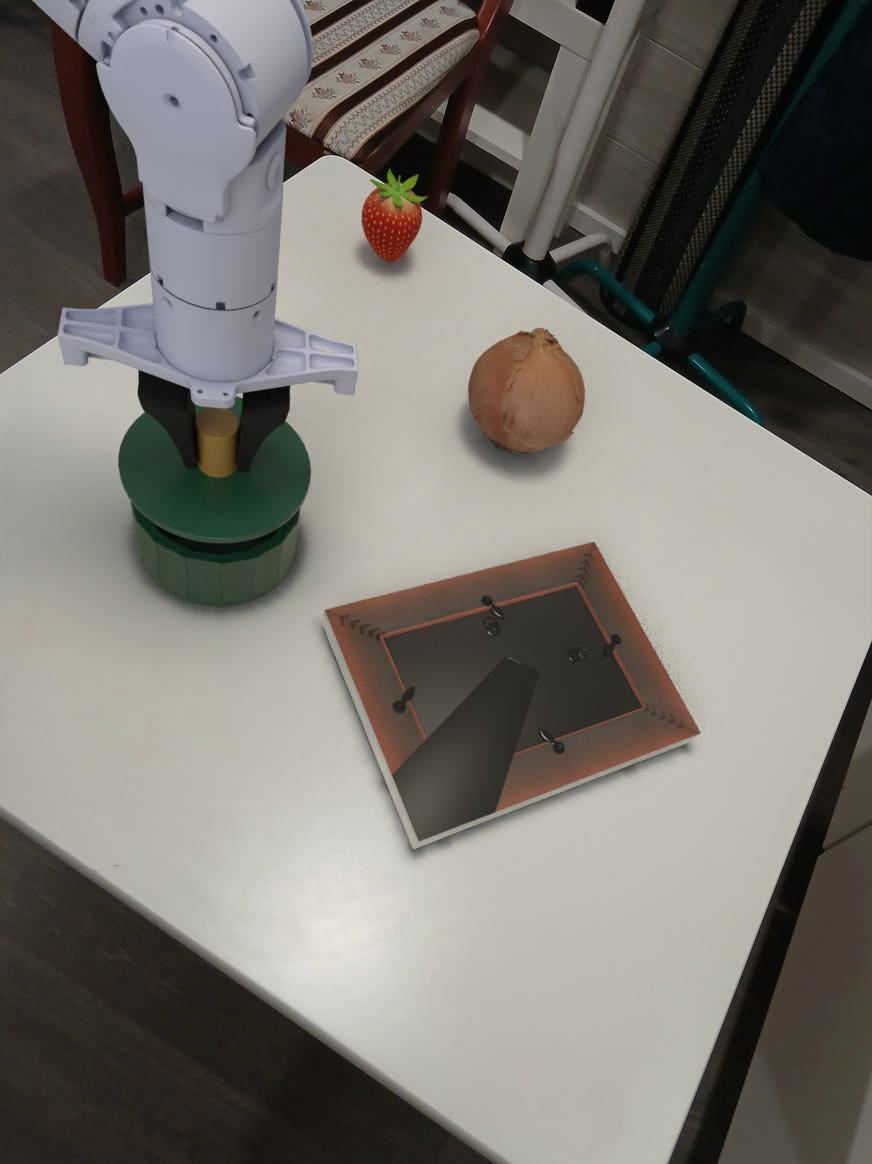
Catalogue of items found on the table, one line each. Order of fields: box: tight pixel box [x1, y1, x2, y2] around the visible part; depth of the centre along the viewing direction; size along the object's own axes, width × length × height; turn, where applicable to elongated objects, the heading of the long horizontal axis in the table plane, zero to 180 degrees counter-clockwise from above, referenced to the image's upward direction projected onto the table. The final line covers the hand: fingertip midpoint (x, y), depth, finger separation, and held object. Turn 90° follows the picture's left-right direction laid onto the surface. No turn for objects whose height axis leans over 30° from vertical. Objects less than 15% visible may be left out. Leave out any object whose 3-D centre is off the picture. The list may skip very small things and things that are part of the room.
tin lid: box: [117, 395, 312, 543], centre depth 50 cm, size 11×11×5 cm
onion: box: [467, 327, 586, 456], centre depth 67 cm, size 10×9×10 cm
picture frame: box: [321, 541, 701, 850], centre depth 58 cm, size 16×2×22 cm
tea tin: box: [129, 500, 302, 608], centre depth 56 cm, size 10×10×5 cm
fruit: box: [361, 168, 429, 263], centre depth 73 cm, size 5×5×8 cm
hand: (217, 456), depth 51 cm, fingers closed on tin lid, 2 cm apart
